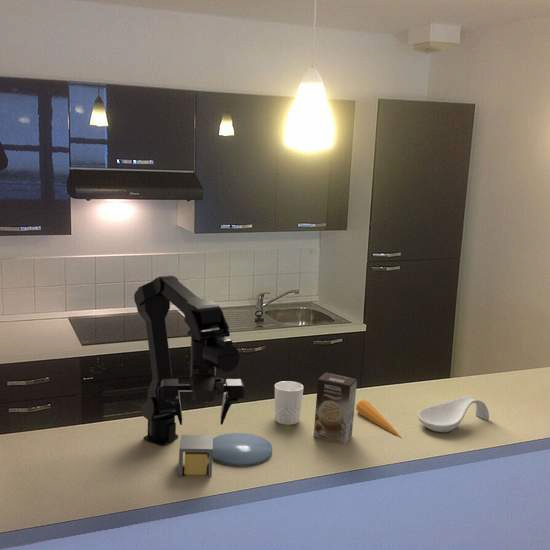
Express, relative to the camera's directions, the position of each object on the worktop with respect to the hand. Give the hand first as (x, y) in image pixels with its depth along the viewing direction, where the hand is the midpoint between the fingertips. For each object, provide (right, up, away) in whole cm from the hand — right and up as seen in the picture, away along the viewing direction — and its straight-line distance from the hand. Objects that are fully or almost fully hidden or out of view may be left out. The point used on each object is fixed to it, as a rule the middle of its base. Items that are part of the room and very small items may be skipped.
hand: (201, 424), depth 155 cm
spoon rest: (+67, -8, +36) cm, 77 cm away
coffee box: (+32, -9, +24) cm, 41 cm away
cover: (-1, -11, +2) cm, 11 cm away
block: (-1, -11, +2) cm, 11 cm away
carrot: (+46, -8, +33) cm, 57 cm away
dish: (+8, -9, +12) cm, 17 cm away
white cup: (+20, -6, +33) cm, 39 cm away
